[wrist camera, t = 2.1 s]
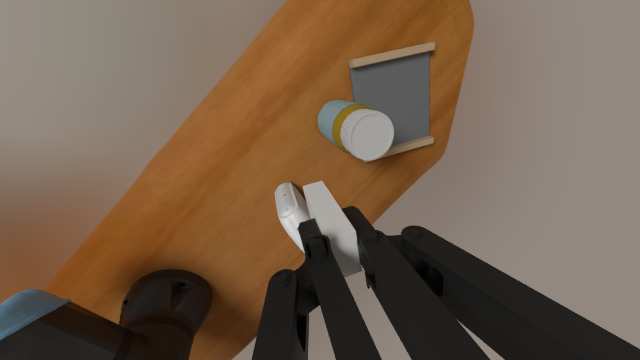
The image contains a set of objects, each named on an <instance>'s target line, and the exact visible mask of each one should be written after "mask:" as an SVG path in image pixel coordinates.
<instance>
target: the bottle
mask: <svg viewBox="0 0 640 360" xmlns="http://www.w3.org/2000/svg"><path fill="white" fill-rule="evenodd" d="M317 125H318V129H319V131H320V132H321V134H322V135H323V136H324V137H326V138H327V139H328V140H329V141H331V142H332V143H333V144H335V145H336V146H337V147H338V148H340V149H341V150H343V151H344V152H347V153H349V154H353V155H354V156H356V157H357V158H359V159H362V160H374V159H377V158H379V157H381V156H382V155H384V154H385V153H386V152H387V150H388V149H389V148H390V146H391V144H392V141H393V137H394V128H393V124H392V122H391V120H390V119H389V118H388V117H387V116H386V115H385V114H383V113H381V112H379V111H375V110H373V109H372V108H370V107H368V106H366V105H363V104H358V103H354V102H349V101H344V100H331V101H329V102H327V103H325V104H324V105H323V106H322V108H321V109H320V111H319V113H318V116H317Z"/></svg>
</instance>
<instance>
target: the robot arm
mask: <svg viewBox="0 0 640 360" xmlns="http://www.w3.org/2000/svg"><path fill="white" fill-rule="evenodd" d="M302 187H303V191H304V195H305V198H306V202H307V206H308V210H309V214H310V218H311V219H310V220H307V221H304V222H301V223H299V226H298V231H299V234H300V238H301V241H302V245H303V248H304V252H305V256H306V258H305V261H304V263H303V264H302V265H301V266H300V267H299V268H298V269H296V270H295V271H293V270H290V269H284V270H280V271H278V272H277V273H275V274H274V275H273V276H272V277H271V279H270V281H269V284H268V288H267V293H266V297H265V302H264V306H263V311H262V315H261V320H260V325H259V329H258V334H257V338H256V343H255V347H254V352H253V356H252V360H308V334H309V333H308V332H309V313H310V312H311V311H312V310H313V309H315V308H316V307H318V306H319V305H320V307H321V310H322V314H323V317H324V320H325V323H326V327H327V330H328V334H329V337H330V340H331V344H332V347H333V351H334V354H335V358H336V360H382V359H381V357H380V355H379V353H378V350H377V348H376V346H375V344H374V342H373V339H372V337H371V335H370V333H369V331H368V329H367V326H366V324H365V322H364V320H363V318H362V315H361V313H360V311H359V309H358V307H357V305H356V302H355V300H354V298H353V296H352V294H351V291H350V289H349V287H348V285H347V283H346V281H345V278H344V277H347V276H349V275H352V274H355V273H358V272H360V271H362V267H361V265H362V266H363V268H364V270H365V276H366V283H367V287H368V289H369V288H370V286H371V288H372V290H373V291H374V293H375V295H376V297H377V298H378V300H379V302H380V304H381V305H382V307H383V309H384V311H385V313H386V315H387V316H388V318H389V320H390V322H391V324H392V325H393V327H394V329H395V331H396V332H397V334H398V336H399V338H400V340H401V341H402V343H403V345H404V347H405V348H406V350H407V352H408V354H409V356H410V357H411V359H412V360H490V359H489V358H488V356H487V355H486V354H485V353H484V352H483V350H482V349H481V348H480V347H479V346H478V344H477V343H476V342H475V341H474V340H473V339H472V337H471V336H470V335H469V334H468V333H467V332H466V330H465V329H464V328H463V327H462V326H461V324H460V323H459V322H461V323H462V324H463V325H464V326H465V327H466V328H468V329H469V330H470V331H471V332H473V333H474V334H475V335H476V336H477V337H479V338H480V339H481V340H482V341H483V342H484V343H486V344H487V345H488V346H489V347H490V348H492V349H493V350H494V351H495V352H496V353H498V354H499V355H500V356H501V357H502V358H504V359H505V360H640V349H639V348H637V347H635V346H633V345H631V344H630V343H628V342H626V341H625V340H623V339H621V338H619V337H617V336H616V335H614V334H612V333H610V332H608V331H607V330H605V329H603V328H601V327H600V326H598V325H596V324H594V323H593V322H591V321H589V320H587V319H585V318H584V317H582V316H580V315H578V314H577V313H575V312H573V311H571V310H569V309H568V308H566V307H564V306H562V305H560V304H559V303H557V302H555V301H553V300H552V299H550V298H548V297H546V296H544V295H543V294H541V293H539V292H537V291H535V290H534V289H532V288H530V287H528V286H527V285H525V284H523V283H521V282H520V281H517V280H516V279H514V278H512V277H511V276H509V275H507V274H505V273H504V272H501V271H500V270H498V269H496V268H495V267H493V266H491V265H489V264H488V263H486V262H484V261H482V260H480V259H479V258H477V257H475V256H473V255H472V254H470V253H468V252H466V251H464V250H463V249H461V248H459V247H457V246H455V245H454V244H452V243H450V242H448V241H446V240H445V239H443V238H441V237H439V236H438V235H436V234H434V233H432V232H431V231H429V230H427V229H425V228H423V227H420V226H408V227H406V228H404V229H403V230H402V232H401V235H394V236H387V235H385V234H384V233H383V232H381V231H378V230H375V229H374V228H373V226H372V225H371V224H370V223H369V221H368V220H367V219H366V218H365V216H364V215H363V214H362V213H361V212H360V210H359V209H358V208H356V207H354V206H350V207H347V208H343V209H341V208H340V207H339V205H338V204H337V202H336V201H335V199H334V198H333V196H332V195H331V194H330V192H329V191H328V189H327V188H326V186H325V185H324V183H323V182H322V181H319V182H316V183H312V184H309V185H306V186H302ZM369 284H370V286H369ZM211 301H212V292H211V289H210V287H209V285H208V284H207V283H206V282H205V281H204V280H203V279H202V278H200V277H199V276H197V275H195V274H193V273H190V272H186V271H181V270H163V271H158V272H154V273H151V274H148V275H146V276H144V277H142V278H141V279H139V280H138V281H137V282H136V283H134V285H133V286H132V287H131V288H130V290H129V292H128V293H127V295H126V297H125V298H124V301H123V303H122V308H121V315H120V321H119V325H118V324H116V323H114V322H112V321H110V320H108V319H106V318H104V317H101V316H99V315H97V314H95V313H93V312H91V311H89V310H87V309H85V308H83V307H81V306H79V305H77V304H75V303H73V302H71V299H63V298H60V297H58V296H56V295H53V294H51V293H48V292H46V291H43V290H39V289H31V290H25V291H22V292H19V293H17V294H15V295H13V296H11V297H10V298H9V299H7V300H6V301H4V302H3V303H2V304H0V360H189V355H190V351H191V347H192V343H193V339H194V336H195V335H196V333H197V331H198V329H199V328H200V326H201V324H202V322H203V321H204V320H205V318H206V316H207V315H208V313H209V310H210V306H211ZM456 319H457V320H458V321H459V322H458V321H457V320H456Z"/></svg>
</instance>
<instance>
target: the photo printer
mask: <svg viewBox="0 0 640 360" xmlns="http://www.w3.org/2000/svg"><path fill="white" fill-rule="evenodd" d="M275 200H276V206H277V212H278V217H279V220H280V222H281V224H282V225H283V227H284V228H285V230H286V231H287V233H288V234H289V236H290V237H291V238H292V239H293V241H294V242H295V243H296V244H297V245H298V247H299V248H300V249H301V250H302V251H303V252H304V248H303V245H302V241H301V238H300V234H299V231H298V226H299V223H301V222H304V221H307V220H310V219H311V218H310V214H309V210H308V206H307V203H306V201H305V200H304V199H303V197H302V196H301V194H300V193H299V192H298V190H297V189H296V188H295V186H294V185H293V184H292V183H291V182H290V183H283V184H281V185H279V186H278V188H277V190H276V191H275ZM304 253H305V252H304Z"/></svg>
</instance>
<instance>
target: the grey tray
mask: <svg viewBox="0 0 640 360" xmlns="http://www.w3.org/2000/svg"><path fill="white" fill-rule="evenodd" d="M431 50H435V42H431V43H426V44H422V45H417V46H412V47H408V48H403V49H398V50H394V51H389V52H384V53H380V54H375V55H370V56H366V57H361V58H357V59H352V60H349V68H350V76H351V84H352V92H353V99H354V103H358V104H363V105H366V106H368V107H370V108H372V109H373V110H375V111H379V112H381V113H383V114H385V115H386V116H387V117H388V118H389V119H390V120H391V122H392V124H393V128H394V137H393V141H392V144H391V146H390V148H389V149H388V150H387V152H386V153H385V154H384V155H382V156H381V157H379V158H377V159H380V158H383V157H387V156H390V155H394V154H397V153H401V152H404V151H408V150H411V149H414V148H418V147H421V146H425V145H428V144H432V143H434V137H431V136H429V51H431ZM361 160H362V159H361ZM374 160H376V159H374ZM362 161H363V162H365V163H366V162H369V161H373V160H362Z"/></svg>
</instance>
